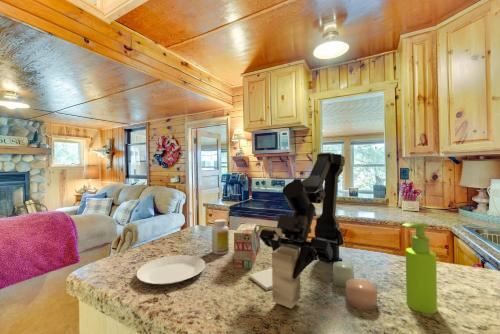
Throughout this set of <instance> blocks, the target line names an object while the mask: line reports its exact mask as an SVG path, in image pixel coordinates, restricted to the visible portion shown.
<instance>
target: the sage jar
mask: <svg viewBox="0 0 500 334" xmlns="http://www.w3.org/2000/svg"><path fill="white" fill-rule="evenodd" d="M332 275H333V276H332V277H333V278H332V281H333V283H334V285H336V286H338V287H340V288H346V282H347V281H348V280H350V279H355V267H354V265H353V264H352V263H349V262H346V261H338V262H333V263H332Z"/></svg>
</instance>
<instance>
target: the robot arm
mask: <svg viewBox="0 0 500 334" xmlns="http://www.w3.org/2000/svg"><path fill="white" fill-rule="evenodd" d="M345 165H346V158H345V156H343V155H342V154H341V153H333V152H331V151H326V152H319V153H317V156H316V160H315V162H314V165H313V167H312V168H311V171H310V173H309V175H308V177H306V178H304V179H303V180H302V179H300V178H294V179H292V180H293V181H291V182H289V183H287V184H286V185H285V186H284V187H282V194H283V196H284V198H285V201H286V202H287V204H288V206H289V207H290V209H291V210H293V212H292V215H291V216H289V215H281V214H280V215H278V219H277V224H276V228H277V229H280V230H281V234H282V235H284V236H280V235H279V234H278V233H277V231H276V230H275V229H274V230H273V229H269V228H263V229H261V230H260V235H259V237H260V241H262V242H263V243H264V244H265V246H266V247H269V248H271V249H272V252H273V251H275V250H276V249H278V248H280V247H281V246H283V244H284V245H289V246H294V247H298V248H299V250H300V254H299V257H298V260H297V263H296V266H295V269H294V272H293V278H294V279H296V278H297V277H298V275H299V274H300V275H301V274H302V272H303V271H304V270H305V269H307V267H308V266H309V265H310V264H311V263H313V261H316V262H317V261H318V259H320V260H321V261H324V262H325V263H327V264H333V263H334V262H339V261H340V262H343V258H341V257H340V246H344V235H343V233H342V231H341V228H340V222H339V220H338V218H337V216H336V209H337V196H338V195H337V194H338V182H339V181H338V180H339V176H341V174H342V173H343V171H344V166H345ZM314 204H322V208H321V214H320V216H318V217H317V211H316V210H317V209H316V207H315V205H314ZM314 217H316V220H315V221H316V222H315V226H314V236H315V237H314V236H312V237H311V239H310V241H308V237H309V234H311V233H312V229H311V227H312V223H313V221H314Z"/></svg>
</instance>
